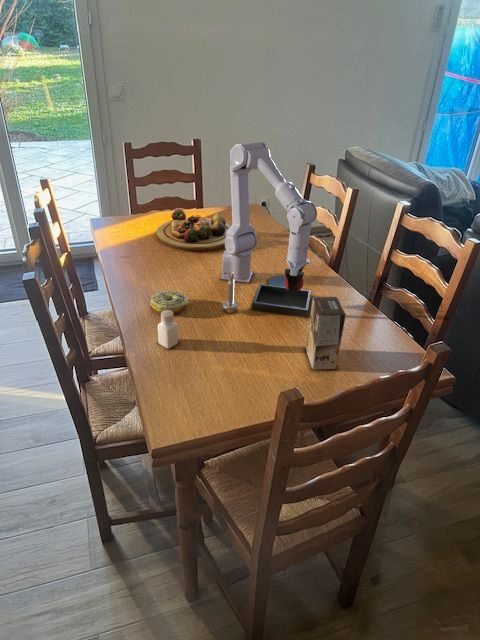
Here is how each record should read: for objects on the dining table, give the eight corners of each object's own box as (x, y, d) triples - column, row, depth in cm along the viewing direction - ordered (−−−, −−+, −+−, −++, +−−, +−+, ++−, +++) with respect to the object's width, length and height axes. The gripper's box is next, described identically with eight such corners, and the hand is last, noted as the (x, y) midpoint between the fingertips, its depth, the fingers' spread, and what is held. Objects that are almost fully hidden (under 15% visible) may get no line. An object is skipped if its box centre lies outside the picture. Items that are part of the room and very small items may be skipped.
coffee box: (336, 369, 118) (347, 315, 109) (311, 370, 117) (320, 315, 109) (327, 348, 126) (337, 296, 117) (304, 348, 125) (311, 296, 116)
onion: (301, 298, 140) (304, 274, 135) (282, 295, 141) (284, 272, 136) (303, 289, 145) (306, 266, 140) (284, 287, 145) (287, 263, 141)
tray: (252, 309, 141) (252, 302, 140) (259, 290, 152) (259, 283, 150) (306, 317, 139) (307, 310, 137) (310, 297, 149) (311, 290, 148)
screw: (240, 314, 139) (224, 315, 137) (235, 306, 142) (220, 307, 141) (241, 274, 132) (225, 276, 130) (237, 267, 135) (221, 268, 134)
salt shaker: (168, 337, 127) (167, 307, 122) (179, 343, 125) (178, 313, 119) (157, 344, 124) (155, 313, 119) (168, 350, 122) (166, 319, 117)
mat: (266, 288, 153) (266, 287, 153) (270, 275, 161) (270, 274, 161) (295, 292, 151) (295, 291, 151) (298, 279, 159) (298, 278, 159)
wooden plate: (147, 227, 194) (145, 207, 190) (217, 218, 206) (218, 200, 202) (170, 257, 170) (170, 236, 165) (249, 245, 182) (250, 225, 177)
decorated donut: (194, 307, 141) (194, 296, 139) (166, 320, 134) (166, 309, 132) (171, 295, 146) (171, 284, 144) (144, 307, 140) (143, 296, 138)
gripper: (310, 257, 128) (304, 300, 135) (314, 237, 140) (308, 278, 147) (284, 253, 129) (280, 296, 136) (290, 234, 141) (286, 275, 148)
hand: (293, 286), depth 141 cm, fingers closed on onion, 6 cm apart
